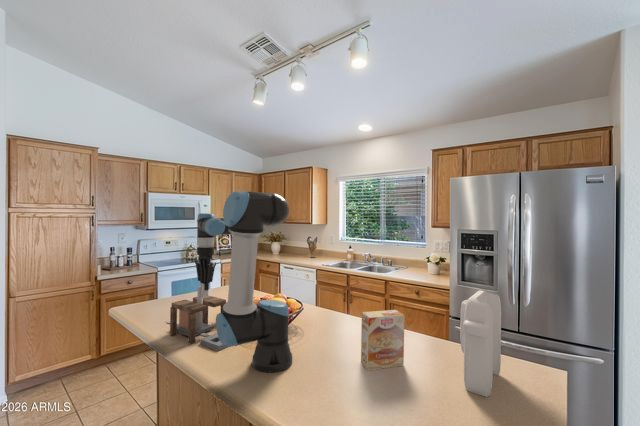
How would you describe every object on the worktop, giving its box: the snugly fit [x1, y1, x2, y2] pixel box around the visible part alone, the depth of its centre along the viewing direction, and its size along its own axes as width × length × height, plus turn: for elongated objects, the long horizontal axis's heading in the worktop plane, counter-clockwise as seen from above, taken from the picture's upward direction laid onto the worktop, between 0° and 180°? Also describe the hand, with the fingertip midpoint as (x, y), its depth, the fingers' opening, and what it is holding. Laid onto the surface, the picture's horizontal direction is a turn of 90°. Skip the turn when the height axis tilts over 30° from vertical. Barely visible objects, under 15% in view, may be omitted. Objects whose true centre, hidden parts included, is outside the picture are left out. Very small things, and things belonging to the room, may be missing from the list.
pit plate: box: [200, 332, 227, 352], centre depth 136 cm, size 12×14×2 cm
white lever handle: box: [177, 285, 214, 337], centre depth 148 cm, size 16×12×21 cm
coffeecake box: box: [360, 309, 405, 371], centre depth 117 cm, size 15×7×20 cm, turn 105°
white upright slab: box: [459, 289, 503, 398], centre depth 107 cm, size 27×11×30 cm, turn 141°
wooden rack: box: [165, 295, 227, 345], centre depth 150 cm, size 36×19×15 cm, turn 57°
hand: (204, 296), depth 143 cm, fingers closed
